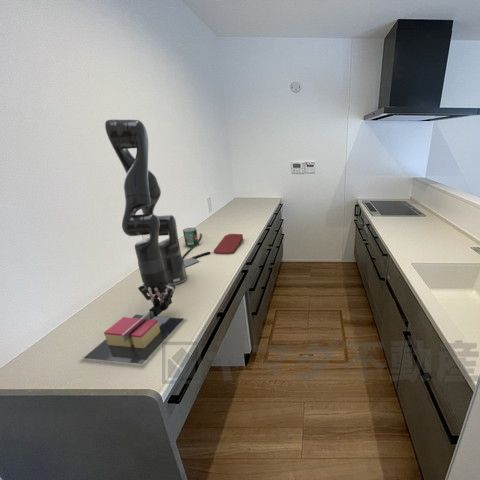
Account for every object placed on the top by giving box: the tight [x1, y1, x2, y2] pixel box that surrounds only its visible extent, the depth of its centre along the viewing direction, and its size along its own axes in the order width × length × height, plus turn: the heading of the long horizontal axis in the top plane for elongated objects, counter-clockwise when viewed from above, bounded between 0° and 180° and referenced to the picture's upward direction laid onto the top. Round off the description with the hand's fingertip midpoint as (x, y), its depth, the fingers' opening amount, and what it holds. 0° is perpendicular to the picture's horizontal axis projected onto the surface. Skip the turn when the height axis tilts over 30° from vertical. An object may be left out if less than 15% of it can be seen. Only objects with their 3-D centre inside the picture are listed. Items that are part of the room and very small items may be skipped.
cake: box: [103, 316, 140, 347], centre depth 90 cm, size 8×8×5 cm
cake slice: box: [131, 319, 160, 348], centre depth 89 cm, size 8×4×5 cm, turn 174°
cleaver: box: [183, 251, 211, 268], centre depth 148 cm, size 29×1×10 cm
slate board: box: [83, 314, 184, 365], centre depth 92 cm, size 22×20×1 cm
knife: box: [122, 298, 173, 343], centre depth 93 cm, size 22×2×3 cm, turn 174°
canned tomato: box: [182, 227, 200, 249], centre depth 170 cm, size 8×8×11 cm
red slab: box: [213, 233, 244, 255], centre depth 171 cm, size 12×5×25 cm
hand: (161, 308), depth 100 cm, fingers closed on knife, 2 cm apart
